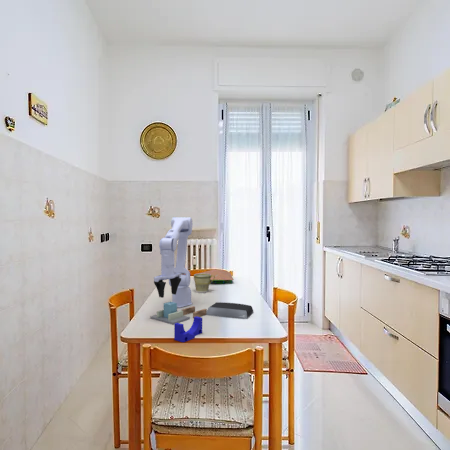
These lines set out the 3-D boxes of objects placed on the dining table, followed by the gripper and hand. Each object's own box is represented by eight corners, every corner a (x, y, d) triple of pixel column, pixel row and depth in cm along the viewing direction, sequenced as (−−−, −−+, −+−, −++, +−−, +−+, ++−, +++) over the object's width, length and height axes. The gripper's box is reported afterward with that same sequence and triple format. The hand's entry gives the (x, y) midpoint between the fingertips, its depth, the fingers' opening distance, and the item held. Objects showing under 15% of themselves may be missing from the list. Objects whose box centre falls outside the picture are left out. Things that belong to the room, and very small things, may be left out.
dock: (167, 313, 163) (167, 306, 163) (189, 319, 154) (189, 311, 154) (150, 318, 155) (150, 310, 155) (173, 324, 146) (173, 316, 146)
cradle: (193, 311, 166) (193, 306, 166) (206, 314, 162) (206, 309, 162) (181, 315, 160) (181, 309, 160) (194, 318, 155) (194, 312, 155)
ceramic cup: (196, 294, 202) (197, 276, 202) (191, 290, 212) (191, 274, 211) (218, 292, 208) (218, 275, 207) (211, 289, 217) (211, 272, 217)
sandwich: (198, 285, 229) (198, 273, 229) (199, 276, 262) (199, 265, 262) (233, 285, 231) (234, 273, 230) (230, 276, 264) (230, 265, 263)
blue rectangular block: (170, 315, 157) (170, 301, 157) (176, 316, 155) (176, 303, 155) (163, 317, 154) (163, 303, 154) (170, 318, 152) (170, 304, 151)
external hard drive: (246, 320, 154) (246, 311, 154) (205, 316, 161) (205, 307, 160) (254, 313, 167) (254, 304, 167) (215, 309, 173) (215, 300, 173)
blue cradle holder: (183, 343, 126) (183, 326, 126) (174, 340, 129) (174, 323, 129) (205, 334, 136) (205, 318, 136) (196, 331, 138) (196, 316, 138)
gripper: (162, 267, 149) (161, 300, 149) (185, 264, 161) (185, 293, 161) (150, 266, 153) (150, 297, 154) (174, 262, 165) (174, 291, 165)
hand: (167, 295), depth 158 cm, fingers open, 7 cm apart
